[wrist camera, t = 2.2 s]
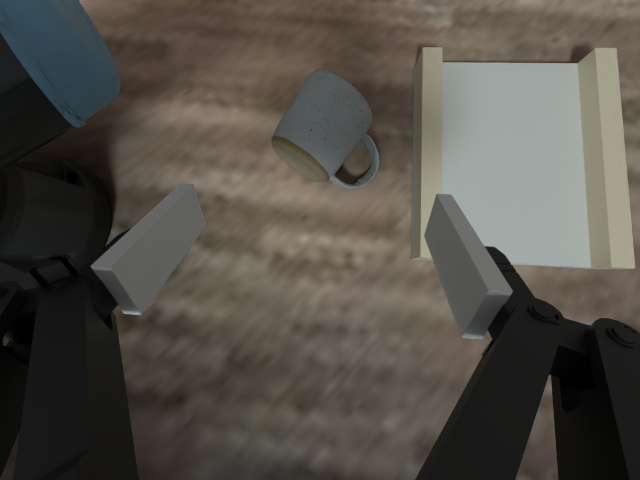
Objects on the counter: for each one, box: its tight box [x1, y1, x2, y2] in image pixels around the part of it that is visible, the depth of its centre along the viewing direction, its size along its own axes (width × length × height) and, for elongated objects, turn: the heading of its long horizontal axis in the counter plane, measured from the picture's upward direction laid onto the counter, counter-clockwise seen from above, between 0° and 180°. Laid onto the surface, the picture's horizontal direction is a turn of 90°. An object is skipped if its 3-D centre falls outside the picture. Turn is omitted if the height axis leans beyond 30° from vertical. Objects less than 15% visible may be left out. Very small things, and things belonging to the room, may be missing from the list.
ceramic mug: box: [272, 70, 379, 189], centre depth 27 cm, size 11×8×8 cm
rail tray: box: [411, 47, 635, 269], centre depth 28 cm, size 19×22×3 cm
